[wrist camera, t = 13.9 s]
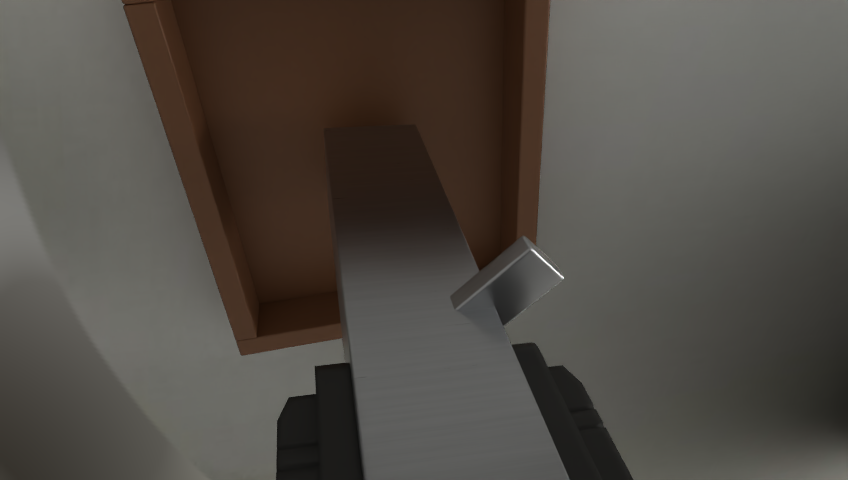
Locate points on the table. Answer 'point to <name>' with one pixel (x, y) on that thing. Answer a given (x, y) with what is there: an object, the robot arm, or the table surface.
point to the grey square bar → (429, 321)
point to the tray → (334, 108)
